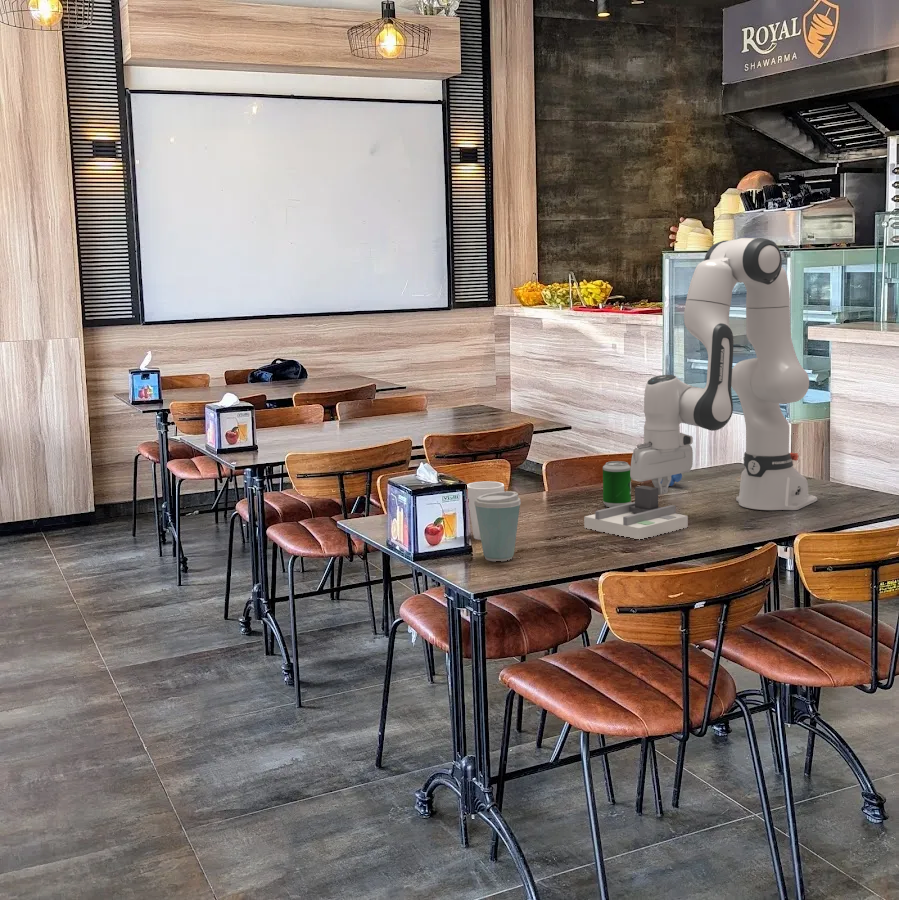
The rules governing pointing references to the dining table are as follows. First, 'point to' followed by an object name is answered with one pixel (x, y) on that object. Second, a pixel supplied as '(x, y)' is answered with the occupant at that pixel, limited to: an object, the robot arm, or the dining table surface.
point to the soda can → (616, 483)
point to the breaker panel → (636, 521)
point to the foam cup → (476, 491)
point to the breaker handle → (645, 499)
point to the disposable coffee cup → (498, 524)
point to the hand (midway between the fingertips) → (661, 493)
